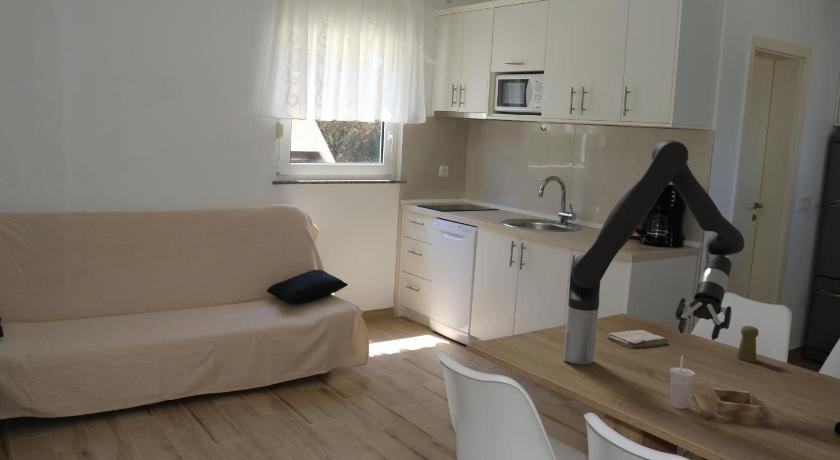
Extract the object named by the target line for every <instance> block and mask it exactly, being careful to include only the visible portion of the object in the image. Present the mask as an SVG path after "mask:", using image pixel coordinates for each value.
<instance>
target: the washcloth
mask: <svg viewBox="0 0 840 460" xmlns="http://www.w3.org/2000/svg"><path fill="white" fill-rule="evenodd" d="M606 339H607V340H609V341H610V340H611V342H612V341H613V343H615V344H617V343H618V344H617V345H619V344H620V346H622V347H624V348H626V349H634V348H635V349H636V348H645V347H653V346H654V347H655V346H660V345H666V344H668V338H665V337H664V336H661V335H657V334H653V333H652V332H649V331H648V330H643V329H636V330H626V331H618V332H617V331H616V332H609V333H607V337H606Z"/></svg>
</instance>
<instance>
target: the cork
mask: <svg viewBox="0 0 840 460" xmlns="http://www.w3.org/2000/svg"><path fill="white" fill-rule="evenodd" d="M740 334H741V339H740V342H739V346H738V350H737V353H736V356H735V358H736V359H737V360H739V361H742V362H747V363H756V362H757V337H758V336H759V330H758V328H757V327H756V326H753V325H752V326H751V325H743V326H742V327H741V329H740Z"/></svg>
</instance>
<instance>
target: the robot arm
mask: <svg viewBox="0 0 840 460" xmlns="http://www.w3.org/2000/svg"><path fill="white" fill-rule="evenodd" d="M651 159H652V160H651V163H650V165H649V166H648V168H647V170H646V171H645V173H644V174H643V175H642V176H641V178H640V179H639V180H638V181H637V182H636V183H635V184H634V185H632V186H631V187H630V188H629V189H628V190H627V191H626V192H625V193H624V194H623V195H622V196H621V197H620V198H619V200H617V202H616V204H615V205H614V207H613V209H611V211H610V212H609V214H608V215H607V217H606V220H605V221H604V224H603V225H602V226H601V229H600V232H599V234H598V235H597V238H596V239H595V241H594V243H593V244H592V245H591V247H589V249H588V250H587V251H586V252H585V253H584V254H582V255H579V256H577V257H576V258H574V260H573V262H572V264H571V267H570V277H569V289H568V302H567V303H568V305H567V317H566V326H565V333H564V343H563V345H564V346H563V355H562V356H563V362H566V361H567V363H570V364H574V365H581V366H582V365H586V366H587V365H591V364H594V361H595V360H594V358H595V349H596V341H597V340H596V338H597V328H598V319H599V307H600V292H601V289H600V288H601V281H602V279H603V278H604V275H605V273H606V272H607V269H608V268H609V267H610V265H611V263H612V262H613V260H614V258H615V257H616V255H617V254H618V253H619V251H620V250H621V249H622V248H623V247H624V246H625V245H626V244H627V243H628V242H629V240H630V238H631V237H632V236H633V235H634V233H635V232H636V231H637V230H638V228H639V227H640V226H641V224H642V223H643V222H644V220H645V219H646V217H647V216H648V215H649V213H650V211H652V209H653V207H654V206H655V204H656V203H657V201H658V199H659V198H660V196H661V194H662V193H663V192H664V190H665V189H666V188H667V187H668V186H669V184H670V183H672V185H673V186H674V187H675V189H676V190H677V192H678V194H679V195H680V196H681V199H682V200H683V202H684V204H685V205H686V206H687V208H688V209H689V213H691V215H692V217H693V218H694V220H695V221H696V223H697V224H698V226H699V227H700V229H701V230H702V231H703V232H714V233H715V234H712V235H711V236H710V237H709V238H708V239H707V241H706V244H705V253H706V254H705V256H706V257H705V259H706V261H705V265H704V269H703V271H702V274H701V275H700V277H699V280H698V283H697V286H696V290H695V293H694V296H693V298H692V300H691V301H690V300H689V301H688V300H686V298H684V297H682V298H680V301H679V302H678V305H677V307H676V311H675V314H674V315H675V318H676V320H678V321H679V323H678V326H677V328H678V331H679V332H680V334H684V333H685V329H686V326H687V323H688V322H689V321H690V320H693V319H695V318H696V317H697V319H704V320H706V321H709V320H711V321H712V323H713V324H714V326H713V329H712V332H711V340H713V341H715V340H716V339H718V338H719V337H720V333H721V330H722V329H725V330H728V329H729V328H730V324H731V318H732V314H733V312H732V311H733V310H732V307H731V306H727V307H722V304H723V301H724V297H725V295H726V292H727V286H728V280H729V277H730V274H731V271H732V266H733V264H732V261H731V259H729V257H727V256H731V255H735V254H738V253H741V252H742V251H744V248H745V239H744V236H743V233H741V232H740V231H739V229H737V228H736V227H735V226H734V225H733V224H732V223H731V222H730V221H729V220H728V219H727V218H726V217H724V216H723V215H722V213H721V211H720V210H719V208H718V207H717V205H716V203H715V202H714V200H713V199H712V198H711V196H710V194H709V193H708V192H707V191H706V190H705V189H704V187H703V186H702V185H701V184H700V182H699V181H698V180H697V178H696V177H695V175H694V174H693V172H692V171H691V169H690V167H689V165H688V161H689V151H688V148H687V146H686V145H684V143H683V142H681V141H677V140H673V139H665V140H662V141H659V142H658V143H656V145H654V146H653V149H652V153H651ZM688 307H690V308H689V309H687V308H688ZM685 309H687V311H686V312H685ZM720 313H722V314H723V316H724V319H723V321H721V320H720V319H719V317H718V315H719V314H720Z"/></svg>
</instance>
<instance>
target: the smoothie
mask: <svg viewBox="0 0 840 460" xmlns="http://www.w3.org/2000/svg"><path fill="white" fill-rule="evenodd" d="M683 363H684V355H681V356H680V363H679V367H672V368H670V369H669V375H670V401H671V403H670V404H671V406H672V407H673V408H675V409H682V410H684V409H686V408H687V405H688V400H689V396H690V393H691V389H692V385H693V381H694V379H695V378H696V373H695V372H694V371H693V370H692V369H688V368H686V367H683Z"/></svg>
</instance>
